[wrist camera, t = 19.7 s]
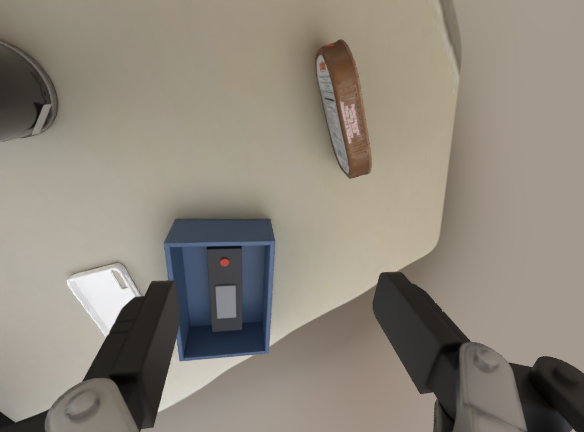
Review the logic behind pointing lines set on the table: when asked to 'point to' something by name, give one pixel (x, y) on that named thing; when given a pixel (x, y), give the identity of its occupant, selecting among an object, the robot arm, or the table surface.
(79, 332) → the table surface
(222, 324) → the remote
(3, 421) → the product box
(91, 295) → the phone case
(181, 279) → the open blue packaging tray
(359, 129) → the tin
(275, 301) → the table surface
